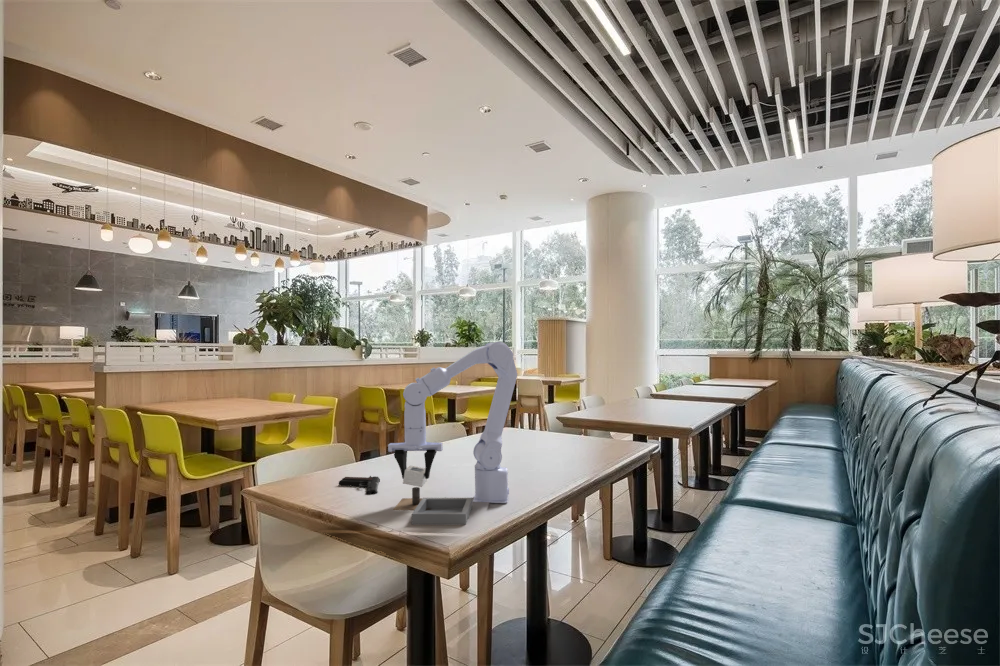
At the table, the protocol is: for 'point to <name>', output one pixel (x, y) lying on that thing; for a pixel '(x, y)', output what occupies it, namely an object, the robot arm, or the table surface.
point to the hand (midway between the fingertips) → (415, 477)
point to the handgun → (362, 483)
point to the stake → (410, 501)
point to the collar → (414, 476)
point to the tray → (442, 511)
